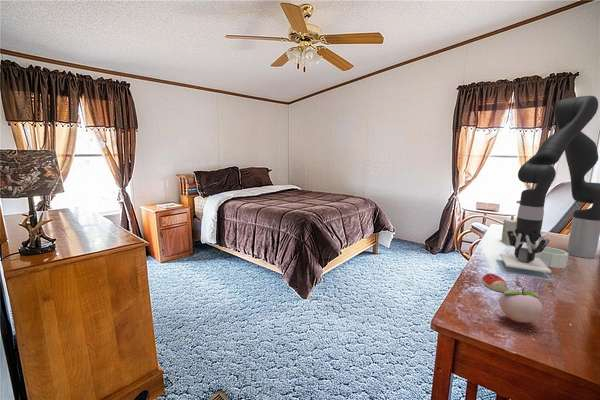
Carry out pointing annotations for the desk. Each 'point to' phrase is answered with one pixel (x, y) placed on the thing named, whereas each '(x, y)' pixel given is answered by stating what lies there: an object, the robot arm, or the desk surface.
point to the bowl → (553, 257)
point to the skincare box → (508, 226)
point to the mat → (522, 271)
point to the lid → (524, 261)
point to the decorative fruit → (521, 305)
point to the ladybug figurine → (495, 282)
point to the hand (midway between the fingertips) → (523, 259)
